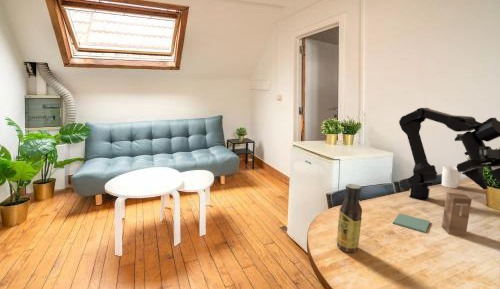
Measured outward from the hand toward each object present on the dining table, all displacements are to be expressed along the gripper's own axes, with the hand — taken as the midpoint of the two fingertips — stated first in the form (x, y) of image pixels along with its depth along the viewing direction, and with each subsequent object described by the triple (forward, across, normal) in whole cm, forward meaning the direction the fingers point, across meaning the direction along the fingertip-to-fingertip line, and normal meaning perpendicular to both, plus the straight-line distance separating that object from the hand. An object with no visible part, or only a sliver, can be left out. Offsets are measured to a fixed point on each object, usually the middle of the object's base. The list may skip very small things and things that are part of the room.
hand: (496, 188), depth 90 cm
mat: (+7, -24, +15) cm, 30 cm away
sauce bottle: (+13, -57, +8) cm, 59 cm away
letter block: (+12, -15, +9) cm, 21 cm away
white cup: (-10, +30, +41) cm, 52 cm away
